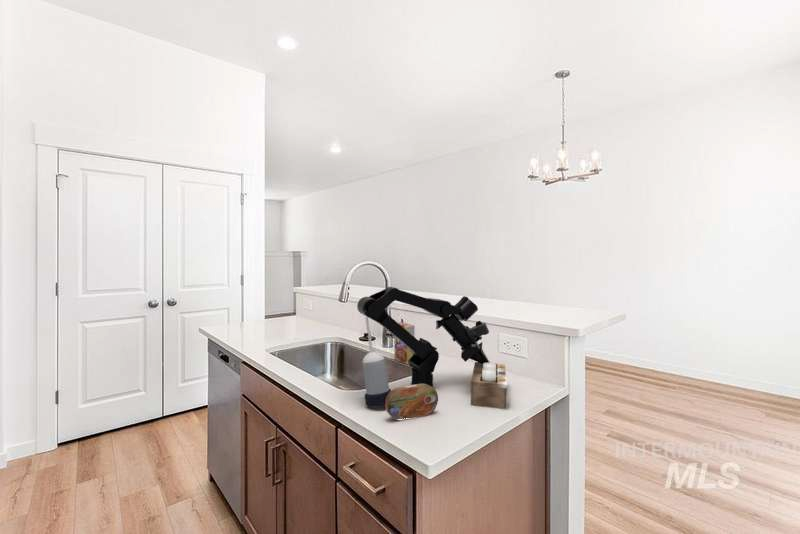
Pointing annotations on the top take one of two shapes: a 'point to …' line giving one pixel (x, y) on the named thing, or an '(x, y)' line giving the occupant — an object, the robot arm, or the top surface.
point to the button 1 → (489, 375)
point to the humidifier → (375, 376)
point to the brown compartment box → (489, 388)
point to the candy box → (403, 345)
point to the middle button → (489, 366)
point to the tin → (411, 401)
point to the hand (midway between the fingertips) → (489, 365)
